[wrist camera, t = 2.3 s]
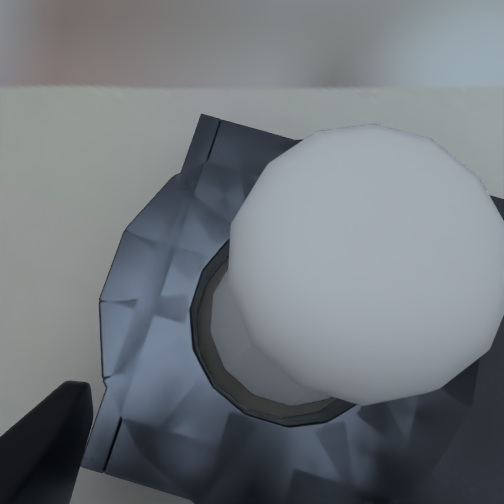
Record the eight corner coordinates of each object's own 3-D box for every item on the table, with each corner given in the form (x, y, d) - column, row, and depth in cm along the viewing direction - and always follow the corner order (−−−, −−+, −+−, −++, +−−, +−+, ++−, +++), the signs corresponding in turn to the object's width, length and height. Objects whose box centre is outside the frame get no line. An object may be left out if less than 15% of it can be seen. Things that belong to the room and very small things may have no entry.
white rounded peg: (373, 275, 20) (625, 117, 7) (340, 417, 18) (577, 537, 6) (236, 236, 20) (239, 11, 7) (193, 373, 19) (107, 396, 6)
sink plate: (755, 294, 20) (827, 285, 18) (740, 651, 17) (825, 699, 15) (178, 131, 21) (170, 100, 18) (66, 447, 18) (39, 460, 15)
